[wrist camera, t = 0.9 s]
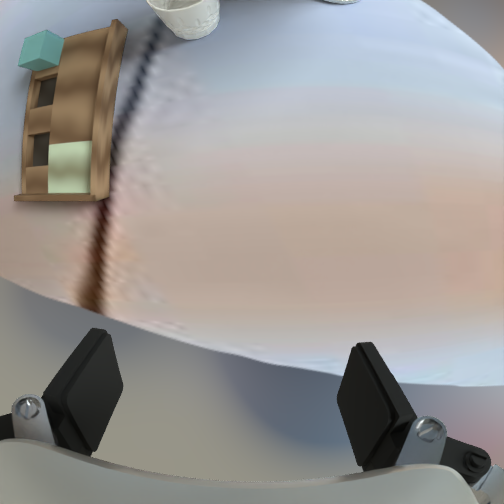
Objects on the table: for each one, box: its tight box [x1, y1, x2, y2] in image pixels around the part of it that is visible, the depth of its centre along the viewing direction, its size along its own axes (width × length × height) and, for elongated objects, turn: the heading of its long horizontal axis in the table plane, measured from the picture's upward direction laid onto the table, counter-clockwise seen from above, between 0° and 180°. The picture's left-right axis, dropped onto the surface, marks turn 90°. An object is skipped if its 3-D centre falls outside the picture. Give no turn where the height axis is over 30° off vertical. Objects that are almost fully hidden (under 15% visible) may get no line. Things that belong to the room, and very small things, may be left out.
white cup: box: [146, 0, 220, 40], centre depth 24 cm, size 8×8×10 cm
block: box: [18, 30, 65, 71], centre depth 24 cm, size 4×4×5 cm
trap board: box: [14, 19, 128, 201], centre depth 30 cm, size 25×16×4 cm, turn 175°
